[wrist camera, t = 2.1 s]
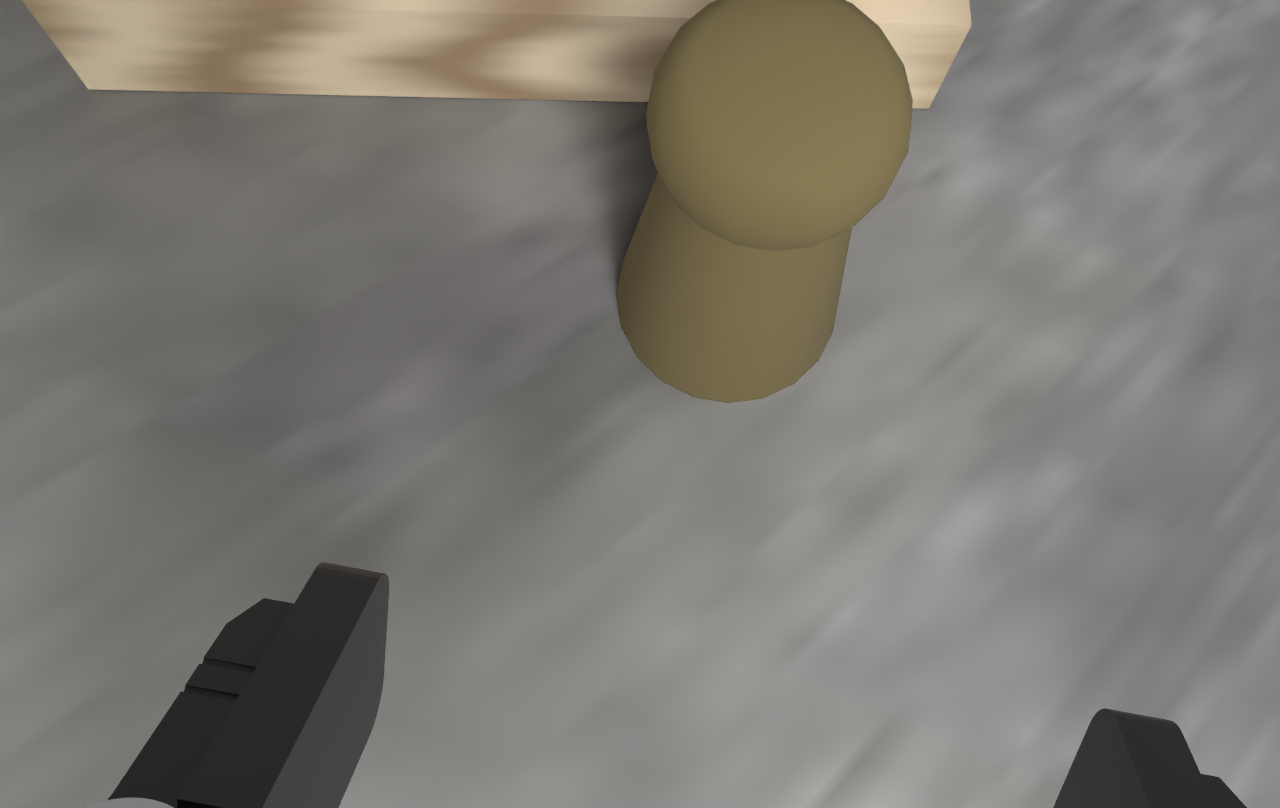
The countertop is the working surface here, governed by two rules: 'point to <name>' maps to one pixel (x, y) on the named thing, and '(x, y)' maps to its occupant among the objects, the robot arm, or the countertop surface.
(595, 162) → the countertop surface
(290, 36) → the wooden slotted rack
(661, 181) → the cork
